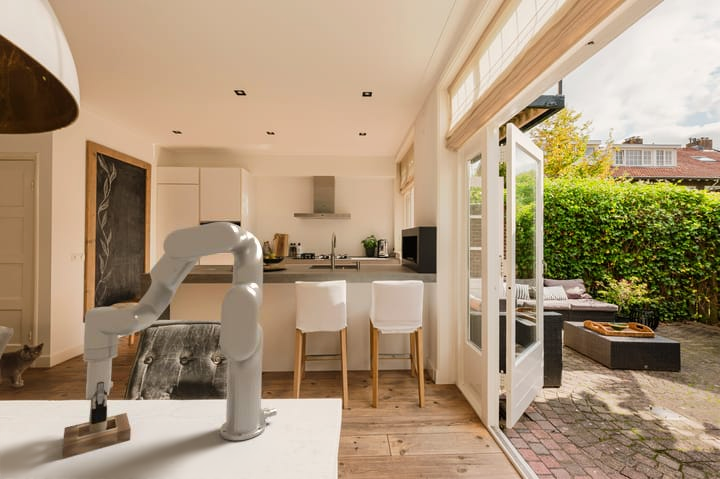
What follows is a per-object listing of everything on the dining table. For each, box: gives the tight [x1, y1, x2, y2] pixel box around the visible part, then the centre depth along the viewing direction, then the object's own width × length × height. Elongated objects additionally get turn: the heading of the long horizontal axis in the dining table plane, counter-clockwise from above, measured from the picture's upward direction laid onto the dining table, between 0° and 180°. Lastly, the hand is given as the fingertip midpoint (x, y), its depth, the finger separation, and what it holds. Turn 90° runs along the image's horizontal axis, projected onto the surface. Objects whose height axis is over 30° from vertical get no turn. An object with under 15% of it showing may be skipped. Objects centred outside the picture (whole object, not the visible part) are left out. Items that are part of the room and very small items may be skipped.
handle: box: [88, 380, 114, 434], centre depth 92 cm, size 5×6×15 cm
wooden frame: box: [61, 412, 132, 460], centre depth 92 cm, size 14×12×3 cm
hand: (98, 415), depth 92 cm, fingers open, 9 cm apart
